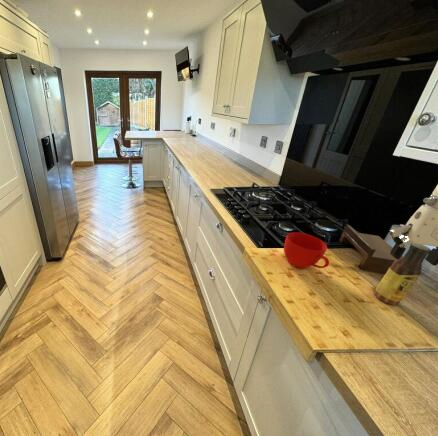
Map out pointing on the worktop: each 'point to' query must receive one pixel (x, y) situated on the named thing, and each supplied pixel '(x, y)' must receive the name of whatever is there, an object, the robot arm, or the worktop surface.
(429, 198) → the robot arm
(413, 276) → the sauce bottle
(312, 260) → the ceramic cup
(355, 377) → the worktop surface
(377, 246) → the brown wooden stand
